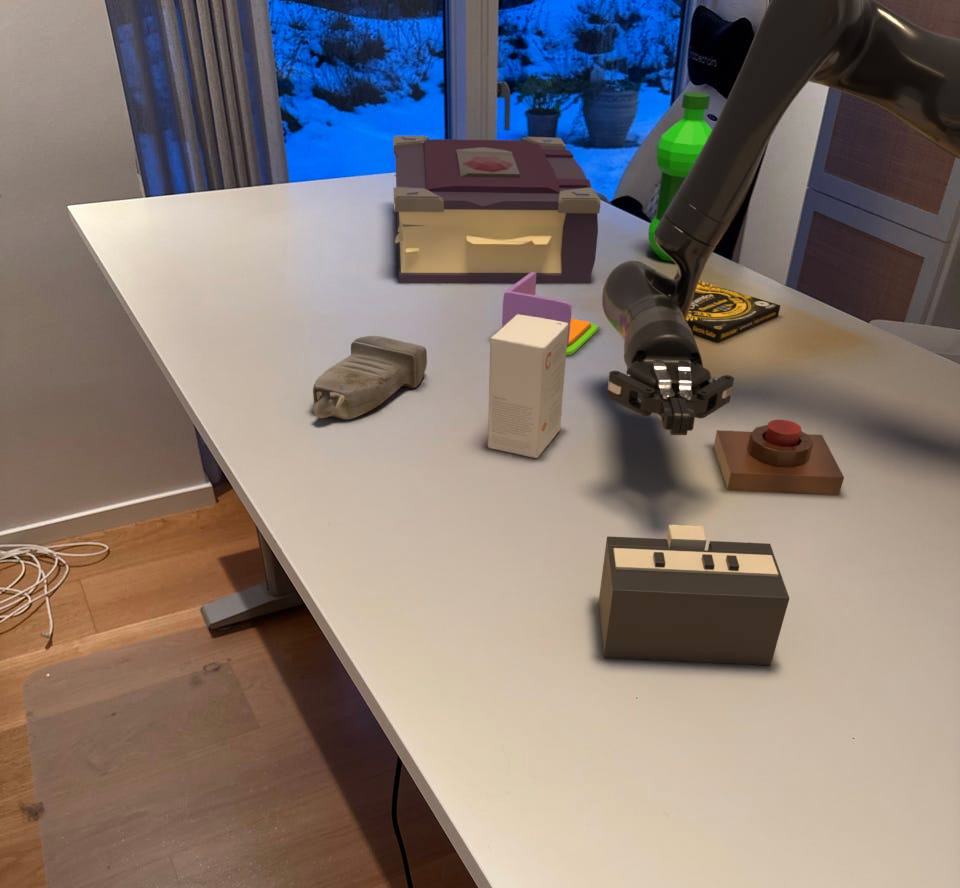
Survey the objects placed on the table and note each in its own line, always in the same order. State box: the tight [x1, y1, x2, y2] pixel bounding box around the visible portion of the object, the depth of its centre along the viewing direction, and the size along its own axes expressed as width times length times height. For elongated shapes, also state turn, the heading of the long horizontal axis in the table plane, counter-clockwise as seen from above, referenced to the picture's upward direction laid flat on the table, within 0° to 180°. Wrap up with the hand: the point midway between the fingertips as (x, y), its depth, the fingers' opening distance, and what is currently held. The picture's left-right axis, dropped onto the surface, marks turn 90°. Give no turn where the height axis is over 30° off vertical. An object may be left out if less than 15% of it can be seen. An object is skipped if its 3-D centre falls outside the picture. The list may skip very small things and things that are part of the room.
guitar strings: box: [686, 280, 781, 344], centre depth 144 cm, size 16×2×16 cm
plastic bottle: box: [648, 91, 713, 263], centre depth 159 cm, size 10×10×25 cm
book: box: [393, 135, 601, 284], centre depth 166 cm, size 33×45×14 cm
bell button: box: [764, 419, 802, 447], centre depth 104 cm, size 4×4×2 cm
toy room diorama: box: [501, 272, 599, 356], centre depth 135 cm, size 12×12×7 cm
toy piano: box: [598, 535, 790, 666], centre depth 81 cm, size 14×8×8 cm, turn 87°
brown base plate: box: [713, 424, 845, 496], centre depth 105 cm, size 12×10×4 cm
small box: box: [487, 314, 568, 459], centre depth 107 cm, size 8×6×13 cm
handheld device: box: [312, 335, 428, 420], centre depth 118 cm, size 10×20×5 cm, turn 154°
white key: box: [665, 524, 707, 550], centre depth 83 cm, size 3×2×2 cm
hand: (680, 425), depth 88 cm, fingers closed
